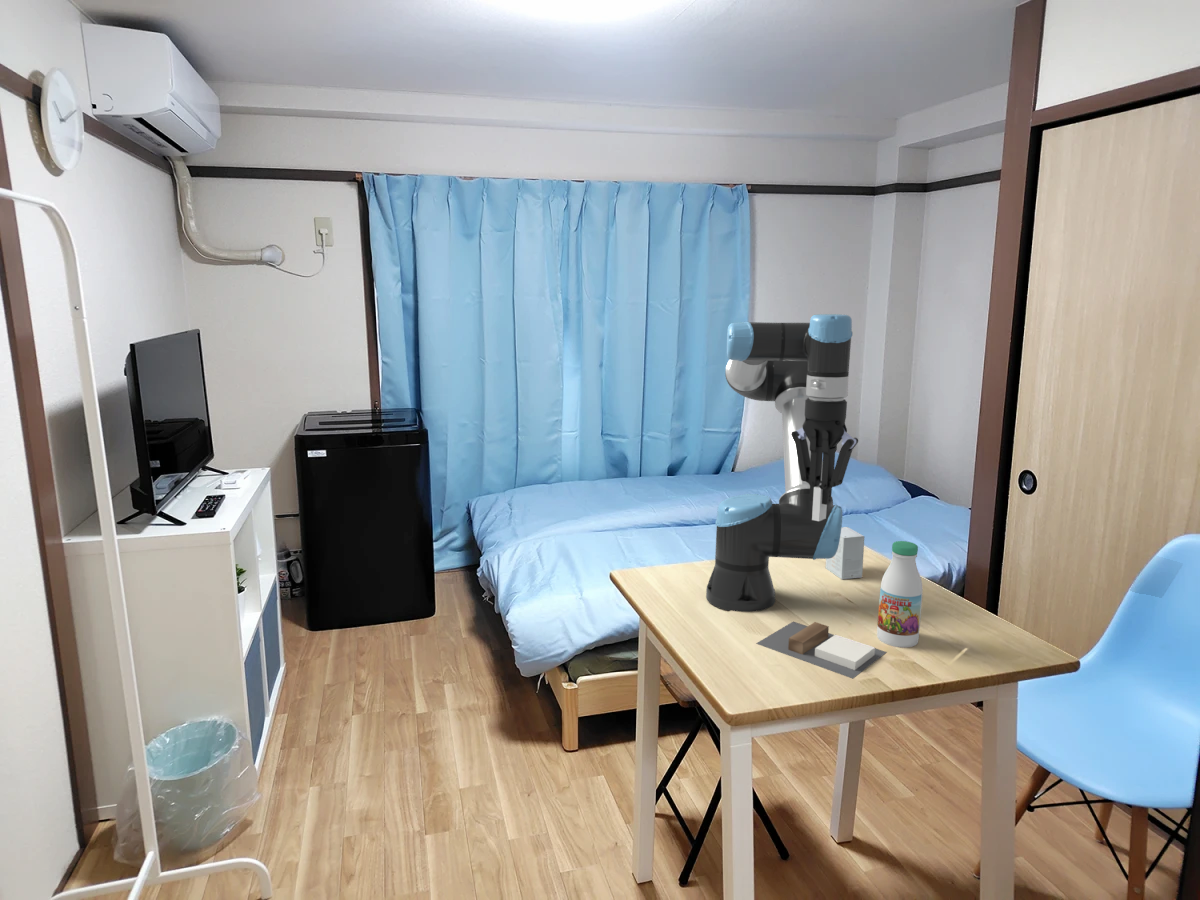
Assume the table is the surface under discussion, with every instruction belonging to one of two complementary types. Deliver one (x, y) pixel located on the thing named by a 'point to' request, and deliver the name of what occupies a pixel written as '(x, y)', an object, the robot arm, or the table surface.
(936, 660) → the table surface
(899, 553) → the milk bottle
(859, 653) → the tile
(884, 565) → the table surface
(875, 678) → the table surface
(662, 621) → the table surface
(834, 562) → the small box
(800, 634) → the block
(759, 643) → the mat
